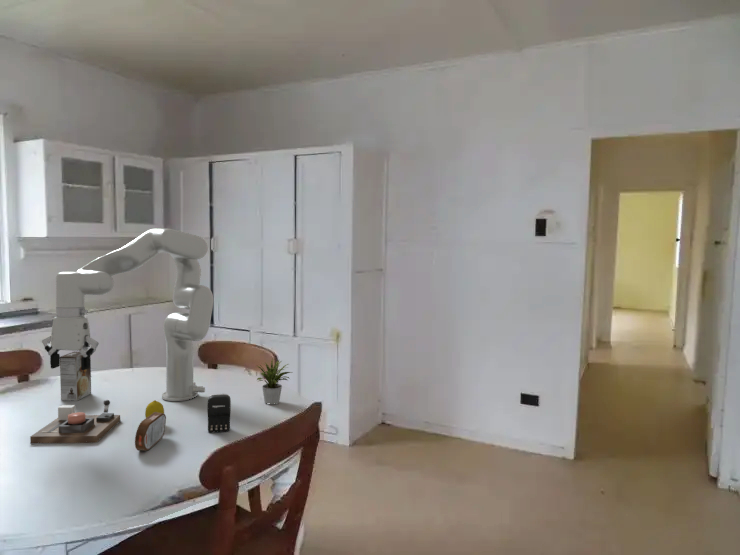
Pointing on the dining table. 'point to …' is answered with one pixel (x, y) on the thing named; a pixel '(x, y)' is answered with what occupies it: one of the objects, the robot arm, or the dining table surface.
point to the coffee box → (74, 377)
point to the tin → (150, 431)
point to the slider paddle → (65, 411)
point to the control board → (76, 430)
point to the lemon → (154, 408)
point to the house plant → (272, 382)
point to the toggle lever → (106, 406)
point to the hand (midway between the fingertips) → (70, 368)
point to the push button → (76, 418)
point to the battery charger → (219, 412)
